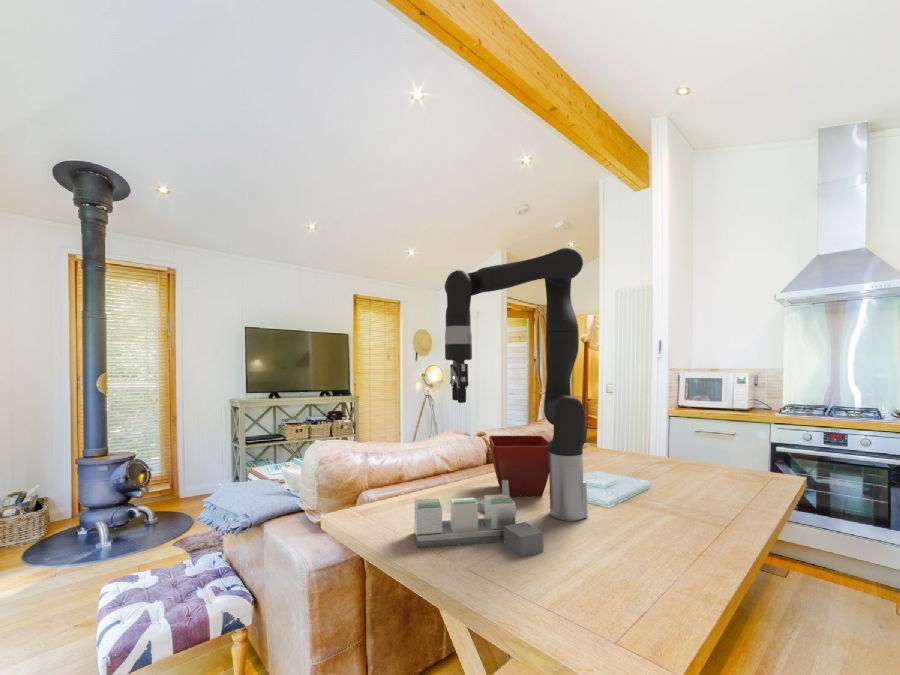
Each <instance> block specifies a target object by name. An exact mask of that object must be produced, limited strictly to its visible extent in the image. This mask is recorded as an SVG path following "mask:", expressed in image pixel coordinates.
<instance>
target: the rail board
mask: <svg viewBox="0 0 900 675" xmlns="http://www.w3.org/2000/svg"><path fill="white" fill-rule="evenodd" d="M483 497H484V511H485V512H484V517H478V531H477V532H464V533H453V532H452V529H451V519H449V520H447V519H446V520H443V506H442V504H441V502H440V499H439V497H437V498H422V499H414V524H413V525H414V528H413V529H414V538H415V544H416V548H417V549H422V548H424V549H425V548H436V547H435V546H438V547H447V546H446V545H450V546H459V545H458V544H463V545H471V544H470V543H476V544H483V543H482V542H489V543H498V542H497V541H501V542H504V526H507V525H512V524H516V516H515V507H516V502H515V501H514V499H513V498H512V497H509V496H508V495H507V494H502V493H500V494H488V495H487V494H486V495H483Z"/></svg>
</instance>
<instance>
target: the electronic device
mask: <svg viewBox="0 0 900 675" xmlns="http://www.w3.org/2000/svg"><path fill="white" fill-rule="evenodd" d="M501 494H507V495H508V496H509V487H508V480H502V492H501ZM474 499H475V500H476V501H477V503H478V511H479V510H480V512H482V511H483V513H485V511H484V496H483V497H476V498H474ZM516 516H517V507H516V506H515V517H516Z"/></svg>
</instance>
